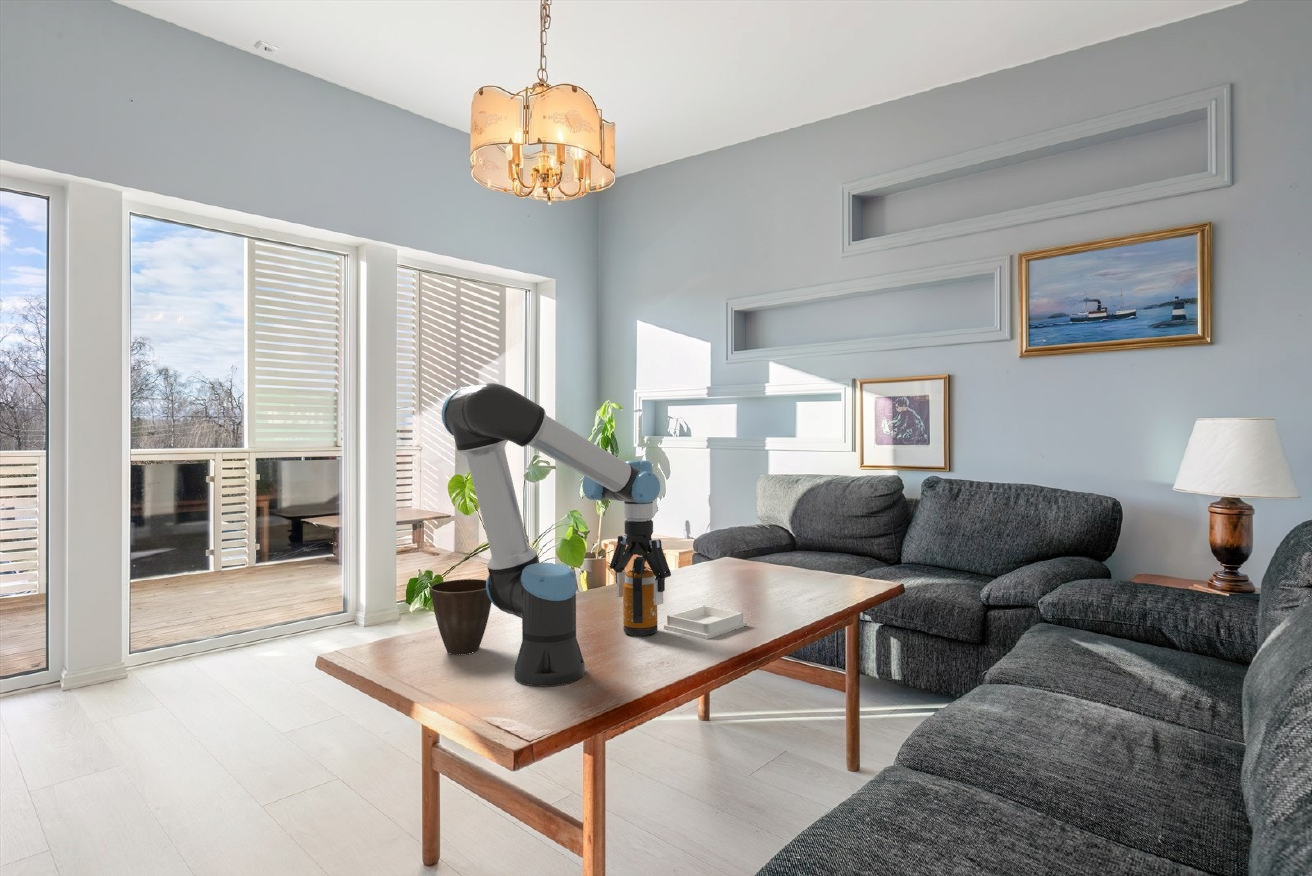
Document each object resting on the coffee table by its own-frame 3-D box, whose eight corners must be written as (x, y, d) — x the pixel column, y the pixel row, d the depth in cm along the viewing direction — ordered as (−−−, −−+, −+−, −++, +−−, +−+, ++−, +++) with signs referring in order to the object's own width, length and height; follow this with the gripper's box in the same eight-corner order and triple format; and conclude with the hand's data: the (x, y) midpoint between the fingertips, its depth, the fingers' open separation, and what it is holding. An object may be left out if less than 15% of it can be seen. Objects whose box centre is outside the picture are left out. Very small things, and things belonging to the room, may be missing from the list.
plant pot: (507, 647, 175) (506, 583, 175) (459, 664, 162) (458, 594, 162) (466, 638, 183) (465, 576, 183) (418, 653, 171) (417, 587, 171)
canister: (659, 628, 191) (658, 554, 191) (655, 640, 180) (654, 561, 180) (626, 627, 192) (625, 553, 192) (620, 639, 181) (619, 561, 181)
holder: (707, 639, 180) (706, 625, 180) (663, 628, 190) (663, 615, 190) (746, 625, 192) (746, 612, 192) (704, 616, 203) (703, 604, 203)
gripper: (684, 521, 180) (685, 605, 180) (616, 514, 197) (617, 591, 197) (663, 524, 175) (665, 610, 175) (596, 517, 192) (597, 595, 192)
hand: (639, 600), depth 186 cm, fingers open, 13 cm apart
